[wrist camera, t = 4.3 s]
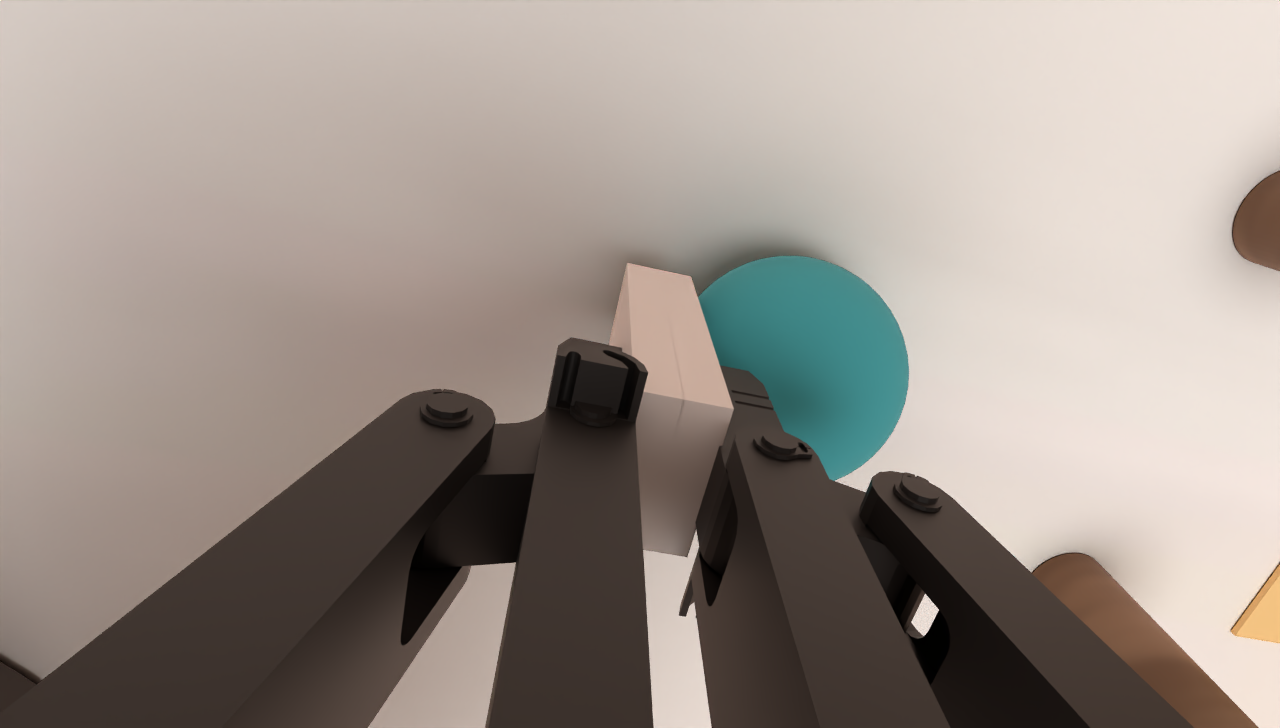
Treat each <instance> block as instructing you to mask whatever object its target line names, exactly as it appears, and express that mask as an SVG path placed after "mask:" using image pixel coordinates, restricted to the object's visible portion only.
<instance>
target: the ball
mask: <svg viewBox="0 0 1280 728" xmlns="http://www.w3.org/2000/svg"><path fill="white" fill-rule="evenodd" d="M698 300H699V303H700V306H701V309H702V312H703V315H704V318H705V321H706V324H707V327H708V331H709V334H710V337H711V340H712V343H713V346H714V349H715V352H716V355H717V358H718V361H719V365H721V366H726V367H731V368H736V369H741V370H746V371H749V372H750V373H751V374H753V375H754V376H755V377H756V378H757V379H758V380H759V381H760V382H762V383H763V384H764V386H765V389H766V391H767V393H768V396H769V400H771V402H772V405H773V407H774V411H775V412H776V414H777V416H778V419H779V421H780V423H781V425H782V428H783V430H784V432H786V433H788V434H791V435H793V436H795V437H797V438H799V439H801V440H802V441H803V442H805V443H807V444H808V445H809V446H810V447H811V448H812V449H813V450H814V451H815V453H816V454H817V455H818V456H819V458H820V461H821V463H822V465H823V467H824V469H825V471H826V473H827V475H828V477H829V479H831V480H833V481H835V480H837V479H839V478H841V477H844V476H846V475H848V474H849V473H851V472H852V471H854V470H856V469H857V468H859V467H861V466H862V465H863V464H864V463H865V462H867V461H868V460H869V459H870V458H871V457H873V456H874V455H875V453H876V452H877V451H878V450H879V449H880V448H881V447H882V446H883V445H884V443H885V442H886V440H887V439H888V438H889V436H890V435H891V433H892V432H893V430H894V428H895V426H896V424H897V422H898V420H899V418H900V415H901V413H902V410H903V407H904V404H905V400H906V395H907V390H908V379H909V366H908V355H907V350H906V346H905V342H904V338H903V335H902V333H901V330H900V328H899V325H898V323H897V321H896V319H895V317H894V316H893V314H892V312H891V310H890V309H889V307H888V306H887V305H886V303H885V302H884V301H883V299H882V298H881V297H880V296H879V295H878V294H877V293H876V292H875V291H874V290H873V289H872V288H871V287H870V286H869V285H868V284H867V283H865V282H864V281H863V280H861V279H860V278H859V277H857V276H856V275H854V274H852V273H851V272H849V271H847V270H845V269H844V268H842V267H839V266H837V265H834V264H832V263H829V262H827V261H823V260H819V259H815V258H811V257H803V256H776V257H769V258H763V259H759V260H756V261H752V262H749V263H746V264H744V265H742V266H740V267H737V268H735V269H733V270H731V271H729V272H728V273H726V274H725V275H723V276H721V277H720V278H718V279H717V280H716V281H714V282H713V283H712V284H711V285H710V286H709V287H708V288H707V289H705V290H704V291H703V292H702V293H701V295H700V296H699V297H698Z"/></svg>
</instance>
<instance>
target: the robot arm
mask: <svg viewBox="0 0 1280 728" xmlns="http://www.w3.org/2000/svg"><path fill="white" fill-rule="evenodd" d="M495 419H496V418H495V416H494V413H493V411H492V409H491V408H490V407H489V406H487V405H486V404H485V403H484V402H483V401H481V400H479V399H476V398H474V397H472V396H469V395H467V394H463V393H458V392H456V391H453V390H446V389H444V390H441V389H432V390H428V391H422V392H416V393H412V394H410V395H408V396H406V397H404V398H402V399H400V400H399V401H398V402H397V403H395V404H394V405H393V406H392V407H390V408H389V409H388V410H386V411H385V412H384V413H383V414H381V415H380V416H379V417H378V418H376V419H375V420H374V421H372V422H371V423H370V424H369V425H367V426H366V427H365V428H363V429H362V430H361V431H360V432H358V433H357V434H356V435H355V436H353V437H352V438H351V439H349V440H348V441H347V442H346V443H344V444H343V445H342V446H341V447H339V448H338V449H337V450H335V451H334V452H333V453H332V454H330V455H329V456H328V457H326V458H325V459H324V460H323V461H321V462H320V463H319V464H318V465H316V466H315V467H314V468H312V469H311V470H310V471H309V472H307V473H306V474H305V475H303V476H302V477H301V478H300V479H298V480H297V481H296V482H295V483H293V484H292V485H291V486H289V487H288V488H287V489H286V490H284V491H283V492H282V493H281V494H279V495H278V496H277V497H275V498H274V499H273V500H272V501H270V502H269V503H268V504H266V505H265V506H264V507H263V508H261V509H260V510H259V511H258V512H256V513H255V514H254V515H252V516H251V517H250V518H249V519H247V520H246V521H245V522H243V523H242V524H241V525H240V526H238V527H237V528H236V529H235V530H233V531H232V532H231V533H229V534H228V535H227V536H226V537H224V538H223V539H222V540H221V541H219V542H218V543H217V544H215V545H214V546H213V547H212V548H210V549H209V550H208V551H206V552H205V553H204V554H203V555H201V556H200V557H199V558H198V559H196V560H195V561H194V562H192V563H191V564H190V565H189V566H187V567H186V568H185V569H184V570H182V571H181V572H180V573H178V574H177V575H176V576H175V577H173V578H172V579H171V580H169V581H168V582H167V583H166V584H164V585H163V586H162V587H161V588H159V589H158V590H157V591H155V592H154V593H153V594H152V595H150V596H149V597H148V598H146V599H145V600H144V601H143V602H141V603H140V604H139V605H138V606H136V607H135V608H134V609H132V610H131V611H130V612H129V613H127V614H126V615H125V616H124V617H122V618H121V619H120V620H118V621H117V622H116V623H115V624H113V625H112V626H111V627H109V628H108V629H107V630H106V631H104V632H103V633H102V634H101V635H99V636H98V637H97V638H95V639H94V640H93V641H92V642H90V643H89V644H88V645H87V646H85V647H84V648H83V649H81V650H80V651H79V652H78V653H76V654H75V655H74V656H72V657H71V658H70V659H69V660H67V661H66V662H65V663H64V664H62V665H61V666H60V667H58V668H57V669H56V670H55V671H53V672H52V673H51V674H49V675H48V676H47V677H46V678H44V679H43V680H42V681H41V682H39V683H38V684H37V685H36V684H35V683H33V682H32V681H30V680H29V679H27V678H26V677H24V676H23V675H21V674H20V673H18V672H16V671H15V670H13V669H11V668H10V667H8V666H6V665H5V664H3V663H1V662H0V728H368V726H369V725H370V723H371V722H372V720H373V719H374V717H375V716H376V714H377V713H378V711H379V710H380V708H381V707H382V706H383V704H384V703H385V701H386V700H387V698H388V697H389V695H390V694H391V692H392V691H393V689H394V688H395V686H396V685H397V683H398V682H399V680H400V679H401V677H402V676H403V674H404V673H405V671H406V670H407V668H408V667H409V665H410V664H411V662H412V661H413V659H414V658H415V656H416V655H417V653H418V652H419V650H420V649H421V648H422V646H423V645H424V643H425V642H426V640H427V639H428V637H429V636H430V634H431V633H432V631H433V630H434V628H435V627H436V625H437V624H438V622H439V621H440V619H441V618H442V616H443V615H444V613H445V612H446V610H447V609H448V607H449V606H450V604H451V603H452V601H453V600H454V598H455V597H456V595H457V594H458V592H459V591H460V590H461V588H462V587H463V585H464V584H465V582H466V580H467V577H468V574H469V571H470V567H471V566H473V565H486V564H499V563H512V562H516V566H515V571H514V576H513V582H512V587H511V592H510V598H509V603H508V608H507V614H506V619H505V624H504V630H503V635H502V640H501V646H500V651H499V656H498V662H497V667H496V672H495V678H494V683H493V688H492V694H491V699H490V704H489V710H488V715H487V720H486V726H485V728H653V713H652V696H651V679H650V662H649V644H648V627H647V610H646V593H645V576H644V558H643V550H649V551H655V552H661V553H667V554H673V555H679V556H685V557H687V556H688V553H689V550H690V547H691V543H692V540H693V537H694V534H695V531H696V529H697V535H698V541H699V549H698V553H697V556H696V559H695V562H694V565H693V568H692V571H691V574H690V577H689V581H688V584H687V587H686V590H685V593H684V596H683V599H682V602H681V606H680V612H679V616H685V617H686V614H687V611H688V608H689V606H690V605H691V604H692V603H693V602H695V609H696V618H697V624H698V631H699V638H700V646H701V653H702V660H703V667H704V675H705V682H706V689H707V697H708V704H709V711H710V718H711V726H712V728H1194V727H1193V726H1192V725H1191V724H1190V723H1189V722H1188V721H1187V720H1186V719H1185V718H1184V717H1183V716H1181V715H1180V714H1179V713H1178V712H1177V711H1176V710H1175V709H1174V708H1173V707H1172V706H1171V705H1170V704H1169V703H1168V702H1167V701H1166V700H1165V699H1164V698H1162V697H1161V696H1160V695H1159V694H1158V693H1157V692H1156V691H1155V690H1154V689H1153V688H1152V687H1151V686H1150V685H1149V684H1148V683H1147V682H1146V681H1145V680H1144V679H1142V678H1141V677H1140V676H1139V675H1138V674H1137V673H1136V672H1135V671H1134V670H1133V669H1132V668H1131V667H1130V666H1129V665H1128V664H1127V663H1126V662H1125V661H1124V660H1122V659H1121V658H1120V657H1119V656H1118V655H1117V654H1116V653H1115V652H1114V651H1113V650H1112V649H1111V648H1110V647H1109V646H1108V645H1107V644H1106V643H1105V642H1104V641H1102V640H1101V639H1100V638H1099V637H1098V636H1097V635H1096V634H1095V633H1094V632H1093V631H1092V630H1091V629H1090V628H1089V627H1088V626H1087V625H1086V624H1085V623H1084V622H1082V621H1081V620H1080V619H1079V618H1078V617H1077V616H1076V615H1075V614H1074V613H1073V612H1072V611H1071V610H1070V609H1069V608H1068V607H1067V606H1066V605H1065V604H1063V603H1062V602H1061V601H1060V600H1059V599H1058V598H1057V597H1056V596H1055V595H1054V594H1053V593H1052V592H1051V591H1050V590H1049V589H1048V588H1047V587H1046V586H1045V585H1043V584H1042V583H1041V582H1040V581H1039V580H1038V579H1037V578H1036V577H1035V576H1034V575H1033V574H1032V573H1031V572H1030V571H1029V570H1028V569H1027V568H1026V567H1025V566H1023V565H1022V564H1021V563H1020V562H1019V561H1018V560H1017V559H1016V558H1015V557H1014V556H1013V555H1012V554H1011V553H1010V552H1009V551H1008V550H1007V549H1006V548H1005V547H1003V546H1002V545H1001V544H1000V543H999V542H998V541H997V540H996V539H995V538H994V537H993V536H992V535H991V534H990V533H989V532H988V531H987V530H986V529H984V528H983V527H982V526H981V525H980V524H979V523H978V522H977V521H976V520H975V519H974V518H973V517H972V516H971V515H970V514H969V513H968V512H967V511H966V510H964V509H963V508H962V507H961V506H960V505H959V504H958V503H957V502H956V501H955V500H954V499H953V498H952V497H950V496H949V495H948V494H946V493H945V492H944V491H943V490H941V489H940V488H938V487H936V486H934V485H933V484H931V483H929V481H928V480H926V479H924V478H922V477H919V476H917V477H915V475H913V474H910V473H899V472H893V471H888V472H879V473H878V474H876V475H875V476H873V477H872V480H871V482H870V484H869V487H868V489H867V492H866V493H865V492H863V491H860V490H857V489H854V488H852V487H849V486H846V485H843V484H840V483H838V482H835V481H833V480H831V479H829V477H828V475H827V473H826V471H825V469H824V467H823V465H822V463H821V461H820V458H819V456H818V455H817V454H816V453H815V451H814V450H813V449H812V448H811V447H810V446H809V445H808V444H807V443H805V442H803V441H802V440H801V439H799V438H797V437H795V436H793V435H791V434H788V433H786V432H784V430H783V428H782V425H781V423H780V421H779V419H778V416H777V414H776V412H775V411H774V407H773V405H772V402H771V400H769V396H768V393H767V391H766V389H765V386H764V384H763V383H762V382H760V381H759V380H758V379H757V378H756V377H755V376H754V375H753V374H751V373H750V372H749V371H746V370H741V369H736V368H731V367H726V366H721V365H719V361H718V358H717V355H716V352H715V349H714V346H713V343H712V340H711V337H710V334H709V331H708V327H707V324H706V321H705V318H704V315H703V312H702V309H701V306H700V303H699V300H698V296H697V293H696V290H695V287H694V284H693V281H692V278H691V276H687V275H682V274H677V273H673V272H668V271H663V270H659V269H654V268H649V267H645V266H640V265H635V264H631V263H627V266H626V270H625V274H624V279H623V283H622V288H621V292H620V296H619V301H618V305H617V309H616V314H615V318H614V323H613V327H612V331H611V336H610V340H609V344H608V345H606V344H601V343H596V342H591V341H586V340H581V339H576V338H569V339H568V340H566V341H565V342H563V343H562V344H560V345H559V346H558V350H557V355H556V360H555V365H554V370H553V375H552V380H551V385H550V390H549V395H548V400H547V405H546V409H545V411H544V412H543V413H542V414H541V415H540V416H538V417H536V418H534V419H532V420H529V421H525V422H520V423H510V424H495ZM925 593H926V595H927V596H928V597H929V598H930V599H931V601H932V602H933V603H934V604H935V605H936V607H937V608H938V609H939V611H938V613H937V615H936V617H935V619H934V621H933V623H932V625H931V627H930V629H929V631H928V633H927V634H926V635H925V636H923V635H921V634H920V633H919V632H918V631H917V630H916V628H915V627H914V626H913V624H912V623H911V621H912V619H913V617H914V615H915V613H916V611H917V609H918V607H919V605H920V603H921V601H922V599H923V597H924V595H925Z"/></svg>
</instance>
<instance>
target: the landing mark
mask: <svg viewBox="0 0 1280 728" xmlns="http://www.w3.org/2000/svg"><path fill="white" fill-rule="evenodd" d="M1231 632H1232V633H1233V634H1234V635H1235V636H1239V637H1245V638H1251V639H1257V640H1262V641H1268V642H1274V643H1280V565H1279V566H1278V567H1277V569H1276V570H1275V571H1274V573H1273V574H1272V576H1271V577H1270V578H1269V580H1268V581H1267V582H1266V584H1265V585H1264V587H1263V588H1262V589H1261V591H1260V592H1259V593H1258V595H1257V596H1256V597H1255V599H1254V600H1253V602H1252V603H1251V604H1250V606H1249V607H1248V608H1247V610H1246V611H1245V613H1244V614H1243V615H1242V617H1241V618H1240V619H1239V621H1238V622H1237V624H1236V625H1235V626H1234V628H1233V629H1232V630H1231Z"/></svg>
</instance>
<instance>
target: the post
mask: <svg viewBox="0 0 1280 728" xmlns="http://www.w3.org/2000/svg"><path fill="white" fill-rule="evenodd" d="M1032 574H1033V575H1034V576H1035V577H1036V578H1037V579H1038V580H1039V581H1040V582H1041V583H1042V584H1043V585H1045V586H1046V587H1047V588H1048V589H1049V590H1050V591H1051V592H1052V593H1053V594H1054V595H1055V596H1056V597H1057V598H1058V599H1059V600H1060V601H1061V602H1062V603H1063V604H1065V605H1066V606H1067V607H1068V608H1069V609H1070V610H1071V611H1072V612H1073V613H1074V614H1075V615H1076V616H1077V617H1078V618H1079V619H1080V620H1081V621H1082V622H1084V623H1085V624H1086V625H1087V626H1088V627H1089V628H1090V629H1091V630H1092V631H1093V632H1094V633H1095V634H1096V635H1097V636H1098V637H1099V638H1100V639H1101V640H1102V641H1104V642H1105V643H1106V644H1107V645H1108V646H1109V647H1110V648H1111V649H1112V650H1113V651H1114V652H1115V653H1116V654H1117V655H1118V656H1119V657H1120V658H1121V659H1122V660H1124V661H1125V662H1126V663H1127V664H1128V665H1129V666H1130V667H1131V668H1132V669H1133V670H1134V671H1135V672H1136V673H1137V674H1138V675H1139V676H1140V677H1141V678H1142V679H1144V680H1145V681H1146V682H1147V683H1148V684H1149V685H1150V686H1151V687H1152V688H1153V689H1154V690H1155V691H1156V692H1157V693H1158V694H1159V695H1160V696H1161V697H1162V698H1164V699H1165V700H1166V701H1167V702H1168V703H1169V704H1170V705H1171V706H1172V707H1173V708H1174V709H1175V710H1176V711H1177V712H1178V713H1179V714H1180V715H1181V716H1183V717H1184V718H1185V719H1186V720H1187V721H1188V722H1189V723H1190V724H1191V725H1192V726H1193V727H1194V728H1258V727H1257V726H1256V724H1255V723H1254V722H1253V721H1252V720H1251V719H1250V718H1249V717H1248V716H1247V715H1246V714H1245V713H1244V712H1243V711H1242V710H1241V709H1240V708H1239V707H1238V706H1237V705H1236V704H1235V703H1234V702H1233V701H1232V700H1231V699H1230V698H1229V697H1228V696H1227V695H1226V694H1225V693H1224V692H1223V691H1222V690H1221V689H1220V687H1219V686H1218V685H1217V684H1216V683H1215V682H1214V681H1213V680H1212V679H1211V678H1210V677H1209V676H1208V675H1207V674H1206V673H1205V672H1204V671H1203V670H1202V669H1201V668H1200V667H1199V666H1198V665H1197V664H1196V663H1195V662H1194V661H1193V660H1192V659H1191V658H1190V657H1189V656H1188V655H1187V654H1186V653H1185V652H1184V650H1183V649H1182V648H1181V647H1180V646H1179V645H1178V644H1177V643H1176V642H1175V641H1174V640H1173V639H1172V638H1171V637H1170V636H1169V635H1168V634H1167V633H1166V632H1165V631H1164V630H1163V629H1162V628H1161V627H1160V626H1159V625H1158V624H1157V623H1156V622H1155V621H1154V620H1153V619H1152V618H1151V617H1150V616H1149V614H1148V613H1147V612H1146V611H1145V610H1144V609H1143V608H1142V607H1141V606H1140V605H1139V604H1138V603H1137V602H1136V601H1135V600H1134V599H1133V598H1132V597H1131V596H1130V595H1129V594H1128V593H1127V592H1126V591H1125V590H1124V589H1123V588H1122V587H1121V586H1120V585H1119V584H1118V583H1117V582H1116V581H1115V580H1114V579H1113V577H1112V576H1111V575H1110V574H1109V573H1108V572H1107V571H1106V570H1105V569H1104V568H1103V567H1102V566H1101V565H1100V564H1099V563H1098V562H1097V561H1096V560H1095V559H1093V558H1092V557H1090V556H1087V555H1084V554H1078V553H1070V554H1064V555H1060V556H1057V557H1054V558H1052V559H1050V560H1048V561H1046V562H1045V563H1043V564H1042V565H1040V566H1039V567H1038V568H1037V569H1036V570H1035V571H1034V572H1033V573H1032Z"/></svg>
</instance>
